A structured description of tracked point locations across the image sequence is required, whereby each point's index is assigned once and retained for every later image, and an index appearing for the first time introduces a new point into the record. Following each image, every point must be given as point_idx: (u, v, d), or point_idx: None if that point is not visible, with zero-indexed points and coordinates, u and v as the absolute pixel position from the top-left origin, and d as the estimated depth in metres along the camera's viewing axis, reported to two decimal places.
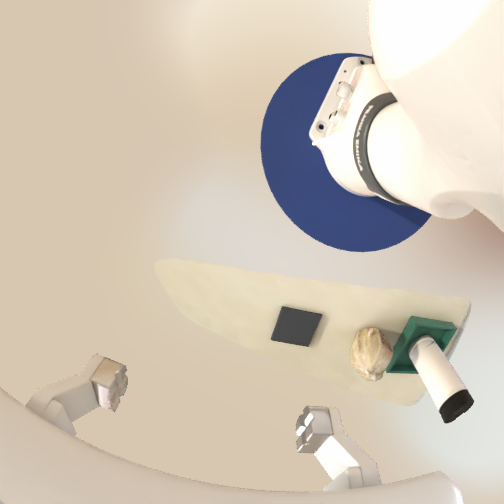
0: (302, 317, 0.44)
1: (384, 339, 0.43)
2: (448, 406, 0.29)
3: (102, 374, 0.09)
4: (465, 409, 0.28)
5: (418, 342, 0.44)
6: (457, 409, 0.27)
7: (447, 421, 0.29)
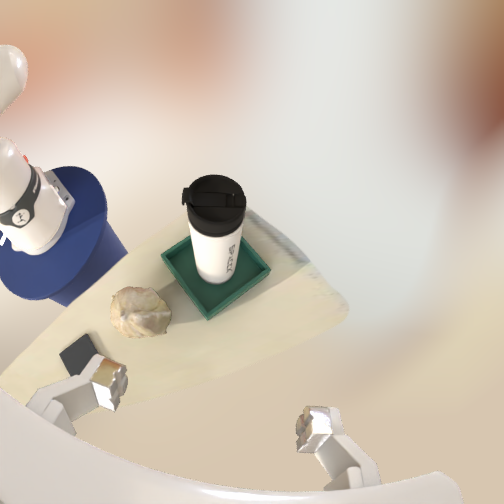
0: (76, 348, 0.35)
1: None
2: (189, 216, 0.27)
3: (102, 374, 0.09)
4: (231, 190, 0.28)
5: None
6: (183, 197, 0.26)
7: (225, 220, 0.26)
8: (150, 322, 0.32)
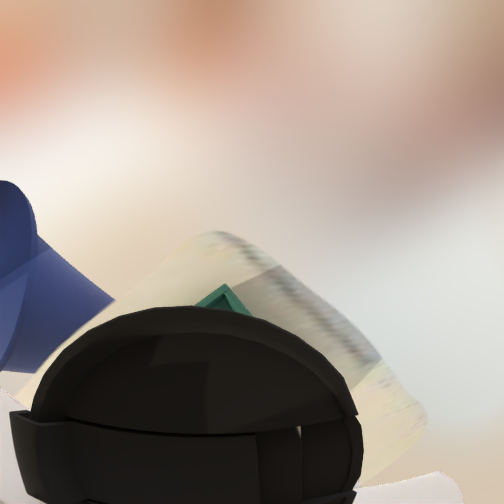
0: None
1: None
2: None
3: None
4: (291, 410, 0.04)
5: None
6: (22, 469, 0.02)
7: None
8: None
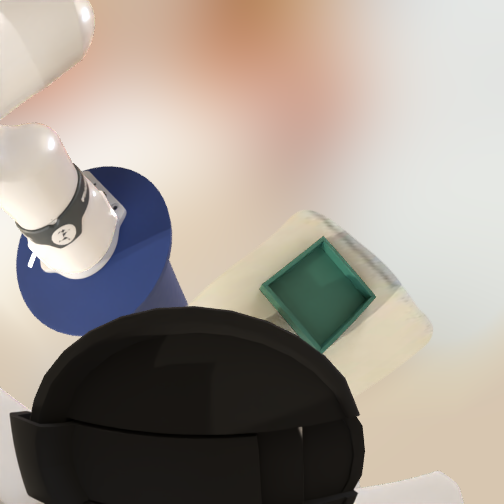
0: None
1: None
2: None
3: None
4: (293, 411, 0.04)
5: None
6: (23, 470, 0.02)
7: None
8: None
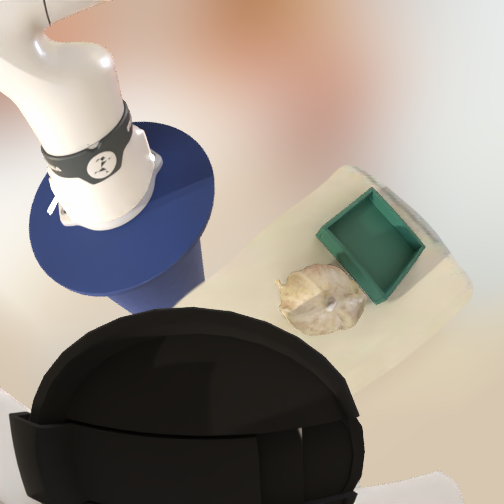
0: None
1: None
2: None
3: None
4: (292, 412, 0.04)
5: None
6: (22, 471, 0.02)
7: None
8: (360, 308, 0.24)
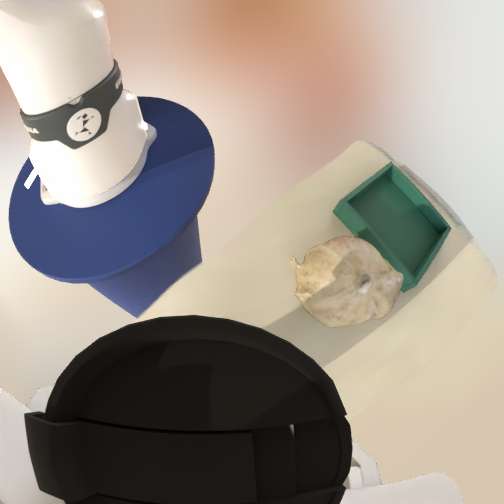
0: None
1: None
2: None
3: None
4: (284, 410, 0.04)
5: None
6: (36, 467, 0.02)
7: None
8: (398, 290, 0.19)
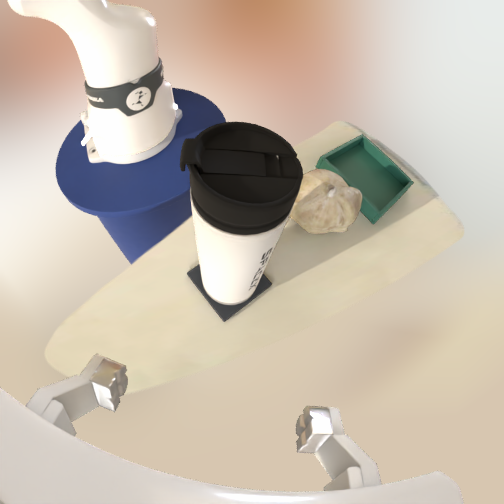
0: None
1: None
2: (194, 194, 0.14)
3: (102, 374, 0.09)
4: (274, 148, 0.15)
5: None
6: (184, 155, 0.12)
7: (268, 201, 0.13)
8: (357, 201, 0.29)
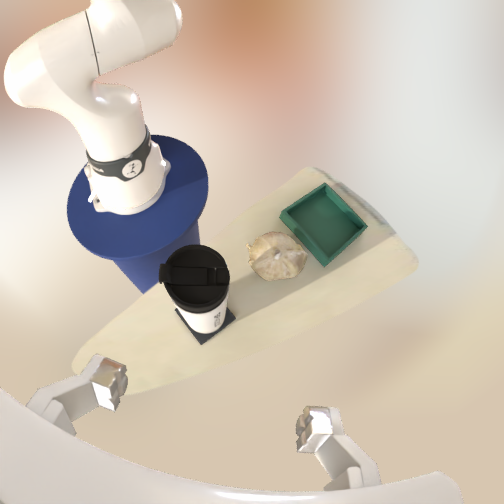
0: None
1: None
2: None
3: (102, 374, 0.09)
4: (213, 263, 0.25)
5: None
6: (160, 275, 0.23)
7: (206, 302, 0.24)
8: (300, 259, 0.40)
